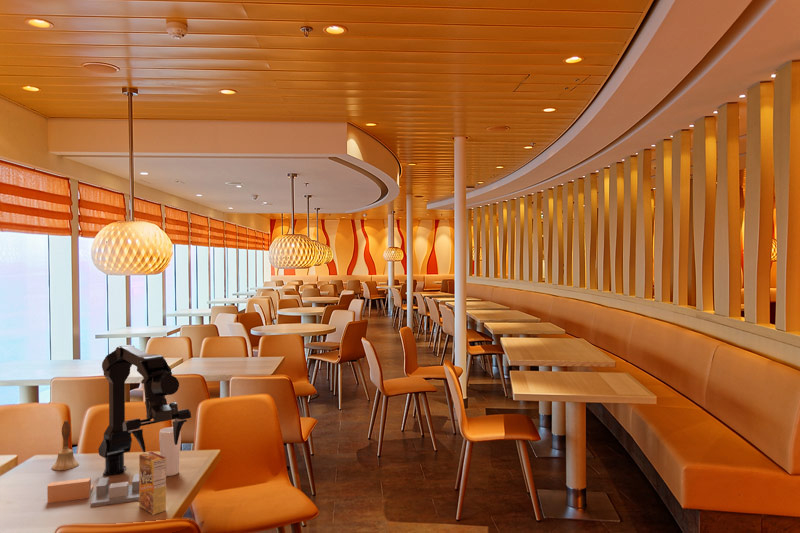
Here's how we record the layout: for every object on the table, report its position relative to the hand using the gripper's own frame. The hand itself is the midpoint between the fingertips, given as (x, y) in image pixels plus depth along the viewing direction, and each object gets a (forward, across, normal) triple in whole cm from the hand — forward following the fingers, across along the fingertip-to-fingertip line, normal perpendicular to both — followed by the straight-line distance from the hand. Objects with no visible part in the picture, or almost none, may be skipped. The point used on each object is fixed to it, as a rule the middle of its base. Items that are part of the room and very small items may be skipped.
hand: (160, 448), depth 174 cm
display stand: (+12, -10, +11) cm, 20 cm away
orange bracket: (+10, -22, +21) cm, 32 cm away
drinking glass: (+11, +7, +20) cm, 24 cm away
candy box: (+16, -5, -4) cm, 17 cm away
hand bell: (+4, -19, +50) cm, 54 cm away
